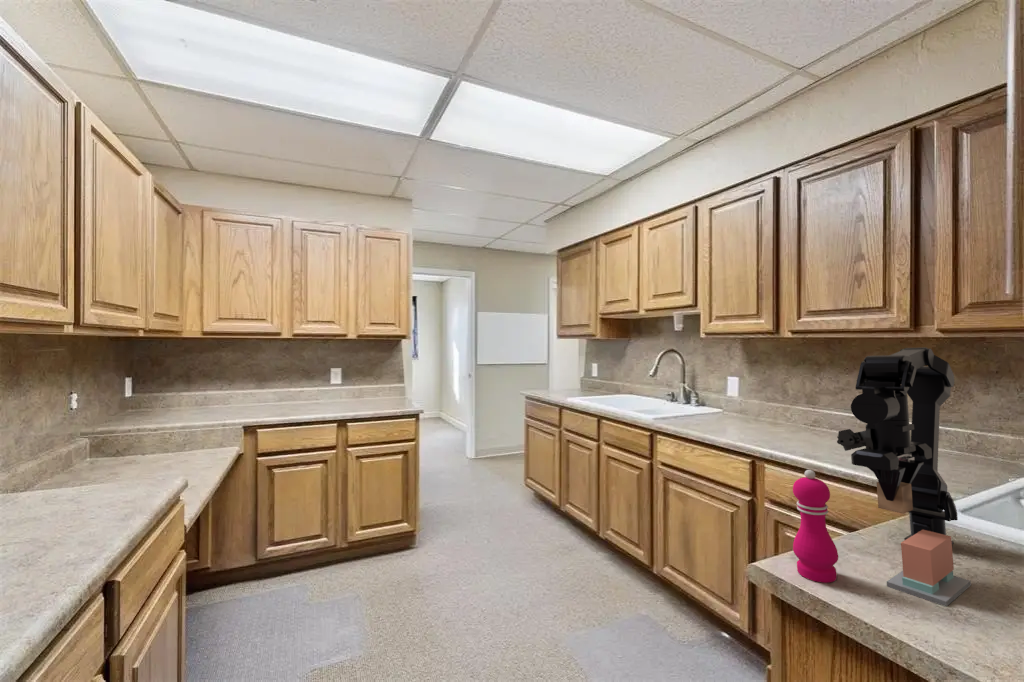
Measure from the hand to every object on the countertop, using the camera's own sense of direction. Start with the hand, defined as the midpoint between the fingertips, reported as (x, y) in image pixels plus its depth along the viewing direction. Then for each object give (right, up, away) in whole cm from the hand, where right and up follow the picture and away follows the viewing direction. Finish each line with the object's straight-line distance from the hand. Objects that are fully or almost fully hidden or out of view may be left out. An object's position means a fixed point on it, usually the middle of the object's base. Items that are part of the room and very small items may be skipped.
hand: (895, 498), depth 87 cm
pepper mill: (-17, -14, -2) cm, 22 cm away
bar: (0, -11, -7) cm, 13 cm away
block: (0, -2, 0) cm, 2 cm away
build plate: (0, -13, -7) cm, 15 cm away
